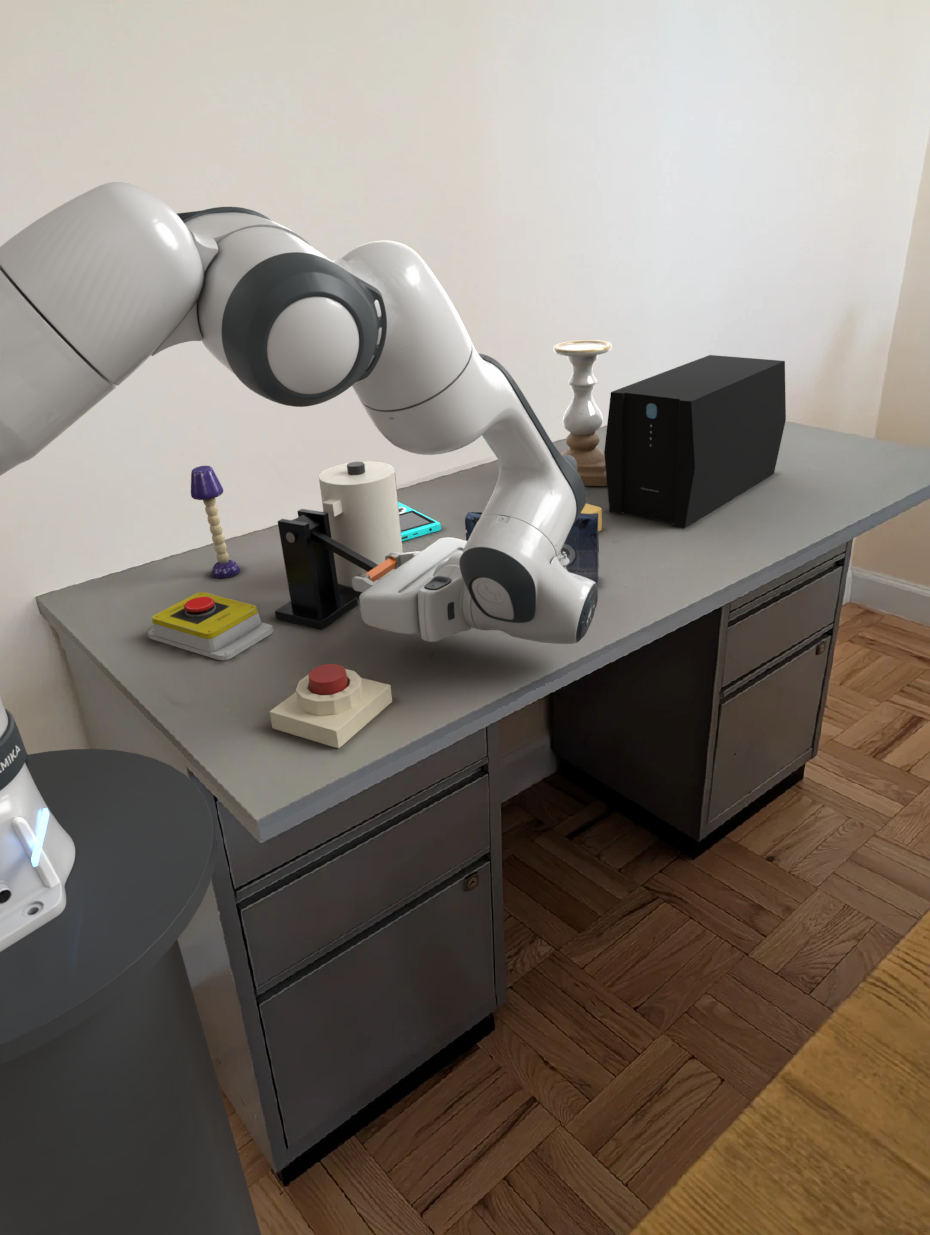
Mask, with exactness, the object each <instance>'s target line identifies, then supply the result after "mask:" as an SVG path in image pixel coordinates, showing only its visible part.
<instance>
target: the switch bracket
mask: <svg viewBox="0 0 930 1235" xmlns="http://www.w3.org/2000/svg"><path fill="white" fill-rule="evenodd" d="M302 515H304V516H306V517H308V518H310V519H312V520H313V521H315V522H317V523H319V524H320V525H319V532H321V533H323V534H324V535H326V536H328V537H330V538H331V530H330V523H329V516H328V513H327V512H323V511H319V510H314V509H306V508H300V509H298V510H297V518H298V517H300V516H302ZM293 520H294V519H288V518H287V519H286V518H281V519H279V520H277V527H278V533H279V539H280V545H281V549H282V550H281V551H282V557H283V562H284V568H285V575H286V582H287V586H288V592H289V598H290V601H288V602H287V603H286V604H284V605H282V606H281V607H279V608H277V609H276V610H274V615H275V619H276V620H280V621H285V622H287V623H288V622H289V623H293V624H297V625H301V626H305V627H310V628H314V629H319V630H324V629H326V628H327V627H328V626H330V625H331V624H332V623H334V622H335V621H337V620H339V619H340V618H341V617H343V616H344V615H346V614H347V613H349V612H350V611H351V610H353V609H354V608H356V607H357V606H358V605H359V599H358V598H357V597H353V596H349V595H344V594H339V588H338V581H337V574H336V566H335V559H334V552H332V551H330V550H329V549H327V548H325V547H323V546H322V545H320V544H318V543H316V542H315V541H313V542H312V541H311V534H310V527H309V523H306V522H300V521H293ZM331 539H332V538H331Z"/></svg>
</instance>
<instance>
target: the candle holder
mask: <svg viewBox="0 0 930 1235" xmlns="http://www.w3.org/2000/svg"><path fill="white" fill-rule="evenodd" d="M612 349H613V345H612V343H611V342H609V341H606V340H598V339H583V340H581V339H580V340H568V341H563V342H560V343H557V344H555V345H554V346H553V352H554V353H555V354H556V355H559V356H564V357H566V358H567V361H568V363H569V364H570V365H571V368H572V373H571V376H570V378H569V379H568V381H567V384H568V385H569V386H570V389H571V391H572V394H573V396H572V399H571V402H570V403H569V405H568V406H567V408H566V410H565V412H564V413H563V417H562V425H563V427H564V429H565V430H566V431H567V432H569V434H568V435H567V436H566V439H565V443H566V445H567V447H568V449H566V450H565V451H562V452H561V453H560V454H561V455H562V456H563V455H570V456H572V457H574V458H575V460H576V462H577V473H578V474H579V476H580V477H581V479H582V481H583V484H584V486H586V487H607V478H606V467H605V456H604V451H603V450H601V449H600V448H598V447H597V446H598V445H599V444H600V442H601V441H600V440H601V439H600V436H599V435H598V434H597V431H598V430H599V429H601V428H602V426H603V423H604V418H603V417H604V416H603V414H602V411H601V410H600V408H599V407H598V405H597V403H596V401H595V399H594V397H593V391H594V389H595V386H596V385H597V384H598V379H597V378H596V376H595V375H594V371H593V368H594V365H595V363H596V362H597V360H598V358H599V356H600V355H603V354H606V353H610V351H612Z"/></svg>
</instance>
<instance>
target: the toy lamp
mask: <svg viewBox="0 0 930 1235" xmlns="http://www.w3.org/2000/svg"><path fill="white" fill-rule="evenodd" d="M213 468H214V467H212V466H211V465H200V466H196V467H194V468H193V469H191V473H190V497H191V498H192V499H193V500H195V501H197V500H198V501H202V502H203V505H204V506H205V507H204V510H205V513H206V515H207V522H208V524H209V531H210V534H211V541H212V543H213V544H214V547H213V548H214V552H215V553H216V561H217V562H215V564H214V565H213V566H212V568H211V576H212V577H213V578H216V579H227V578H231V577H234V576H236V575H238V574H239V573H240V572H241V568H240V566H239V564H238V563H237V562H236V561H234V560H232V559H230V556H229V555H230V554H229V553H228V552H227V551H228V547H227V544H226V543H225V542H226V540H225V534H223V532H224V531H223V526H222V524H221V517H220V515H219V507H218V506H217V504H216V502H217V500H216V499H217V498H218V497H220V496H222V495H223V493H224V487H223V485H222V483H221V481H220V480H219V477H218V476H217V474H216V472H215V470H214V469H213Z"/></svg>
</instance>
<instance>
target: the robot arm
mask: <svg viewBox="0 0 930 1235" xmlns="http://www.w3.org/2000/svg"><path fill="white" fill-rule="evenodd" d="M188 342H201V343H202V344H203V346H204V347H205V348H206V349H207V350H208V352H209V353H210V354H211V355H212V357H214V358H215V359H216V360H217V361H218V362H219V363H220V364H222V365H223V366H224V367H225V368H226V369H227V370H229V371H230V372H232V373H233V374H234V375H235V377H236V378H237V379H238V380H239V381H240V382H241V383H242V384H243V386H245V387H246V388H248V389H249V390H251V391H252V392H253V393H255V394H257V395H259V396H260V397H262V398H264V399H267V400H269V401H270V402H274V403H276V404H279V405H283V406H287V407H294V408H295V407H296V408H305V407H306V408H307V407H312V406H317V405H319V404H323V403H326V402H329V401H330V400H332V399H334V398H336V397H338V396H340V395H341V394H343V393H344V392H346V391H347V390H349V389H350V388H351V387H352V389H353V391H354V392H355V394H356V395H357V398H358V400H359V401H360V403H361V404H362V406H363V408H364V410H365V412H366V414H367V415H368V417H369V418H370V420H371V422H372V423H373V424H374V426H375V428H376V429H377V430H378V432H380V434H381V435H382V436H383V437H384V439H386V440H387V441H388V442H389V443H390V444H391V445H393V446H395V447H396V448H398V449H401V450H402V451H405V452H408V453H410V454H411V453H412V454H416V455H423V456H435V455H436V456H437V455H443V454H447V453H452V452H455V451H457V450H460V449H463V448H464V447H467V446H469V445H470V444H472V443H474V442H475V441H476V440H478V439H479V438H480V437H482V438H483V439H484V441H485V442H486V444H487V445H488V447H489V448H490V450H491V451H492V453H493V454H494V455H495V457H496V459H497V460H498V461H499V473H498V477H497V481H496V483H495V487H494V490H493V492H492V494H491V496H490V498H489V499H488V500H487V501H488V502H487V503H486V505H485V507H484V509H483V510H482V512H483V513H482V515H481V517H480V519H479V521H478V522H477V524H476V525H475V527H474V529H473V531H472V533H471V535H470V537H469V539H468V541H466V539H461V538H457V537H452V536H451V537H450V536H449V537H440V538H438V539H436V541H434V542H432V543H431V544H430V545H428V546H427V547H425V548H424V549H423V550H421V551H420V550H415V551H408V552H407V551H406V552H403V553H399V552H391V553H390V554H388V555H387V556H385V560H387V559H389V558H391V559H392V560H394V561H396V565H395V568H394V569H396V570H394V571H393V572H391V573H390V574H389V575H387V576H386V577H384V578H383V579H381V580H380V581H378V580H376V581H374V582H372V581H371V580H370V575H367V574H362V573H360V574H358V575H357V576H355V577H354V578H353V579H352V585H353V589H354V590H355V591H359V592H363V593H362V594H361V595H360V597H359V598H358V603H359V611H360V617H361V620H362V621H363V622H364V623H365V624H366V625H368V626H370V627H372V628H376V629H380V630H382V631H387V632H392V633H396V634H400V635H401V634H402V635H417V634H420V637H421V639H422V640H423V641H425V642H430V643H436V642H439V641H441V640H443V639H445V638H447V637H450V636H452V635H456V634H458V633H462V632H467V631H470V630H471V629H476V630H480V631H500V632H503V633H505V634H507V635H509V636H511V637H513V638H517V639H520V640H521V639H522V640H526V641H532V642H538V643H544V644H553V645H572V644H573V645H574V644H577V643H579V642H580V641H581V640H582V639H583V638H584V637H585V636H586V634H587V632H588V631H589V628H590V626H591V623H592V621H593V618H594V615H595V613H596V612H595V611H596V609H597V606H598V600H599V599H598V598H599V589H598V583H597V584H596V583H595V582H594V581H592V580H590V579H588V578H586V577H583V576H580V575H577V574H574V573H570V572H568V571H567V570H566V569H565V568H564V567H563V566H562V565H561V563H560V562H559V560H558V555H559V553H560V551H561V549H562V547H563V545H564V542H565V540H566V538H567V536H568V534H569V531H570V529H571V528H572V527H573V525H574V524H575V522H576V520H577V518H578V517H579V515H580V513H581V511H582V510H583V508H584V506H585V504H586V503H587V490H586V487H585V486H584V484H583V481H582V479H581V477H580V476H579V474H578V473H577V471H576V470H575V468H574V467H573V466H572V465H571V464H570V463H569V462H568V461H567V460H566V459H565V458H564V457H563V456H562V455H561V453H560V451H559V449H558V448H557V447H556V446H555V444H554V443H553V442H552V440H551V438H550V436H549V435H548V432H547V430H546V429H545V428H544V426H543V424H542V423H541V421H540V418H538V416H537V415H536V412H535V411H534V409H533V408H532V406H531V404H530V403H529V401H528V400H527V398H526V396H525V394H524V393H523V391H522V390H521V388H520V386H519V384H518V383H517V382H516V381H515V379H514V378H513V376H512V375H511V373H510V372H509V371H508V370H507V369H506V368H505V367H504V366H503V365H502V364H501V362H499V361H498V360H497V359H495V358H494V357H491V356H490V355H487V354H484V353H478V351H477V349H476V348H475V346H474V344H473V341H472V340H471V337H470V335H469V332H468V331H467V328H466V327H465V324H464V323H463V320H462V319H461V317H460V315H459V312H458V311H457V308H455V306H454V303H453V302H452V300H451V299H450V297H449V295H448V294H447V292H446V291H445V289H444V287H443V286H442V284H441V283H440V281H439V280H438V278H437V277H436V275H435V274H434V273H433V271H432V270H431V269H430V267H429V265H428V264H427V263H426V261H425V260H424V259H423V258H422V257H421V256H420V255H419V253H418V252H417V251H415V250H414V249H413V248H412V247H410V246H408V245H406V244H404V243H402V242H399V241H395V240H375V241H370V242H366V243H363V244H360V245H358V246H356V247H354V248H352V249H350V250H349V251H347V252H346V253H344V254H343V255H342V256H341V257H339V258H336V259H334V260H331V259H329V257H327V256H326V255H325V254H323V253H322V252H320V251H318V250H317V249H316V248H315V247H314V246H312V244H311V243H310V242H309V241H308V240H307V239H305V238H304V237H303V236H301V235H300V234H298V233H297V232H296V231H293V230H291V229H290V228H288V227H286V226H284V225H282V224H280V223H278V222H276V221H273V220H272V219H270V218H269V217H268V216H266V215H264V214H263V213H261V212H258V211H256V210H253V209H250V208H245V207H240V206H217V207H209V208H205V209H203V210H202V209H201V210H195V211H185V212H175V211H174V210H173V209H172V208H171V207H170V206H169V205H168V204H167V203H166V202H164V201H163V200H162V199H161V198H160V197H158V196H156V195H155V194H153V193H151V192H149V191H148V190H147V189H144V188H142V187H140V186H138V185H135V184H132V183H128V182H122V181H112V182H106V183H103V184H100V185H98V186H95V187H93V188H91V189H90V190H87V191H86V192H84V193H81V194H79V195H77V196H75V197H73V198H72V199H70V200H68V201H66V202H65V203H63V204H61V205H59V206H58V207H56V208H54V209H52V210H50V211H49V212H47V213H46V214H44V215H43V216H41V217H40V218H38V219H36V220H35V221H33V222H32V223H30V224H29V225H28V226H26V227H24V229H22V230H20V231H19V232H18V233H17V234H14V235H13V236H12V237H11V238H10V239H7V241H6V242H4V243H3V244H2V245H1V246H0V477H1V476H2V475H4V474H6V473H7V472H9V471H10V470H12V469H14V468H16V467H17V466H19V465H20V464H22V463H25V462H27V461H30V460H32V459H33V458H35V457H36V456H37V455H38V454H39V453H40V452H41V451H42V450H44V449H45V448H46V447H47V446H48V445H50V444H52V442H53V441H55V440H56V439H57V438H58V437H59V436H60V435H61V434H63V433H64V432H65V431H66V430H68V429H69V428H70V427H71V426H72V425H74V424H75V423H76V422H77V421H78V420H79V419H81V418H82V417H83V416H84V415H85V414H87V413H88V412H89V411H90V410H91V409H93V408H94V407H95V406H96V405H97V404H98V403H100V402H101V401H102V400H103V399H104V398H106V397H107V396H108V395H109V394H111V393H112V392H113V391H114V390H115V389H117V387H118V386H120V385H121V384H122V383H123V382H125V380H127V379H128V378H129V377H130V376H131V375H132V374H133V373H135V372H136V371H137V370H138V369H139V368H140V367H141V366H142V365H143V364H144V363H145V362H146V361H147V360H148V359H149V358H150V357H154V356H156V355H158V353H161V352H162V351H165V350H166V349H168V348H171V347H173V346H177V345H180V344H184V343H188ZM28 755H29V754H28V752H27V750H26V747H25V743H24V740H23V737H22V735H21V732H20V730H19V727H18V725H17V723H16V719H15V717H14V715H13V714H12V713H11V711H9V709H7V708H6V707H5V705H4V703H3V699H2V697H1V696H0V952H1V951H3V950H4V949H6V948H8V947H9V946H11V945H12V944H14V943H16V942H17V941H19V940H20V939H22V938H24V937H25V936H27V935H28V934H30V933H32V932H33V931H35V930H36V929H38V928H40V927H41V926H43V925H44V924H46V923H48V922H49V921H51V920H52V919H54V918H55V917H57V916H58V915H60V914H61V913H62V912H63V910H64V909H65V906H66V892H65V883H66V880H67V878H68V876H69V874H70V872H71V869H72V867H73V864H74V860H75V845H74V842H73V840H72V838H71V837H70V836H69V835H68V833H67V832H66V831H65V830H64V829H63V828H62V827H61V825H60V824H59V823H58V822H57V820H56V819H55V817H54V816H53V814H52V813H51V812H50V810H49V808H48V807H47V805H46V803H45V802H44V800H43V798H42V796H41V794H40V793H39V791H38V789H37V787H36V785H35V783H34V781H33V779H32V776H31V774H30V772H29V770H28V768H27V767H28V764H29V761H28Z"/></svg>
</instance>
